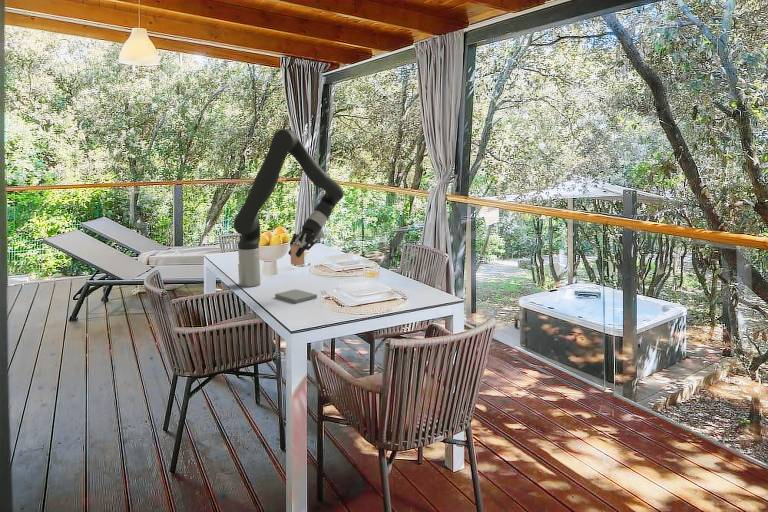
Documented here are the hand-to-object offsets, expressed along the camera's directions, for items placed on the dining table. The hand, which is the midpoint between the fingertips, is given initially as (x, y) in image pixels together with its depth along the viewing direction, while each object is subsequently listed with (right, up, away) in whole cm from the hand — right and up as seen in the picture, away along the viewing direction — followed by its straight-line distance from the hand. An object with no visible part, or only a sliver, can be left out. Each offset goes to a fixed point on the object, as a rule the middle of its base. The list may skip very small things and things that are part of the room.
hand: (293, 255), depth 227 cm
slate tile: (+1, -18, +2) cm, 18 cm away
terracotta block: (+1, -4, +2) cm, 5 cm away
